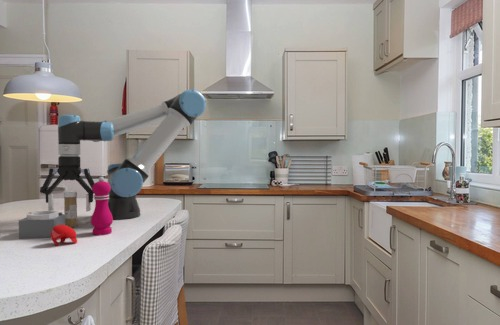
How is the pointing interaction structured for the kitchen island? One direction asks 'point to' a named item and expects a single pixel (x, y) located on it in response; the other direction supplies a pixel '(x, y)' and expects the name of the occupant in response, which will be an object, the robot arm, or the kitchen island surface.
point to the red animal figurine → (63, 234)
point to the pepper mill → (101, 208)
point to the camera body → (40, 224)
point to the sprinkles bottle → (70, 208)
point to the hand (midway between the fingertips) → (69, 211)
